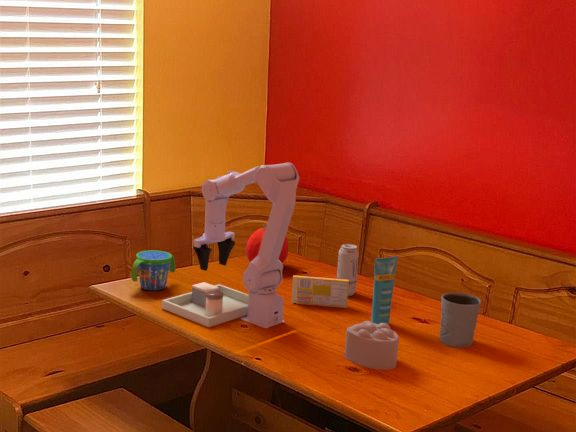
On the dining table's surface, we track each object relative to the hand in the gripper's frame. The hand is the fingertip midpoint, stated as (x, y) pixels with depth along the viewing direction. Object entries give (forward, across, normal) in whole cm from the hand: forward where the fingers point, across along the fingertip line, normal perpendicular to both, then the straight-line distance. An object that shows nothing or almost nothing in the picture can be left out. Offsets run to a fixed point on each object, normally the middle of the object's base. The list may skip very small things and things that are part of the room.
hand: (213, 267), depth 239 cm
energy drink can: (+10, -35, +22) cm, 43 cm away
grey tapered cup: (+10, -26, +65) cm, 71 cm away
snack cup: (+10, +5, -20) cm, 23 cm away
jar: (+9, +11, +11) cm, 18 cm away
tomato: (+10, -36, -11) cm, 39 cm away
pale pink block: (+9, +5, +2) cm, 11 cm away
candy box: (+10, -21, +23) cm, 33 cm away
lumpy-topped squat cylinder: (+10, 0, +57) cm, 57 cm away
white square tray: (+10, +6, +6) cm, 13 cm away
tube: (+10, -22, +44) cm, 50 cm away
